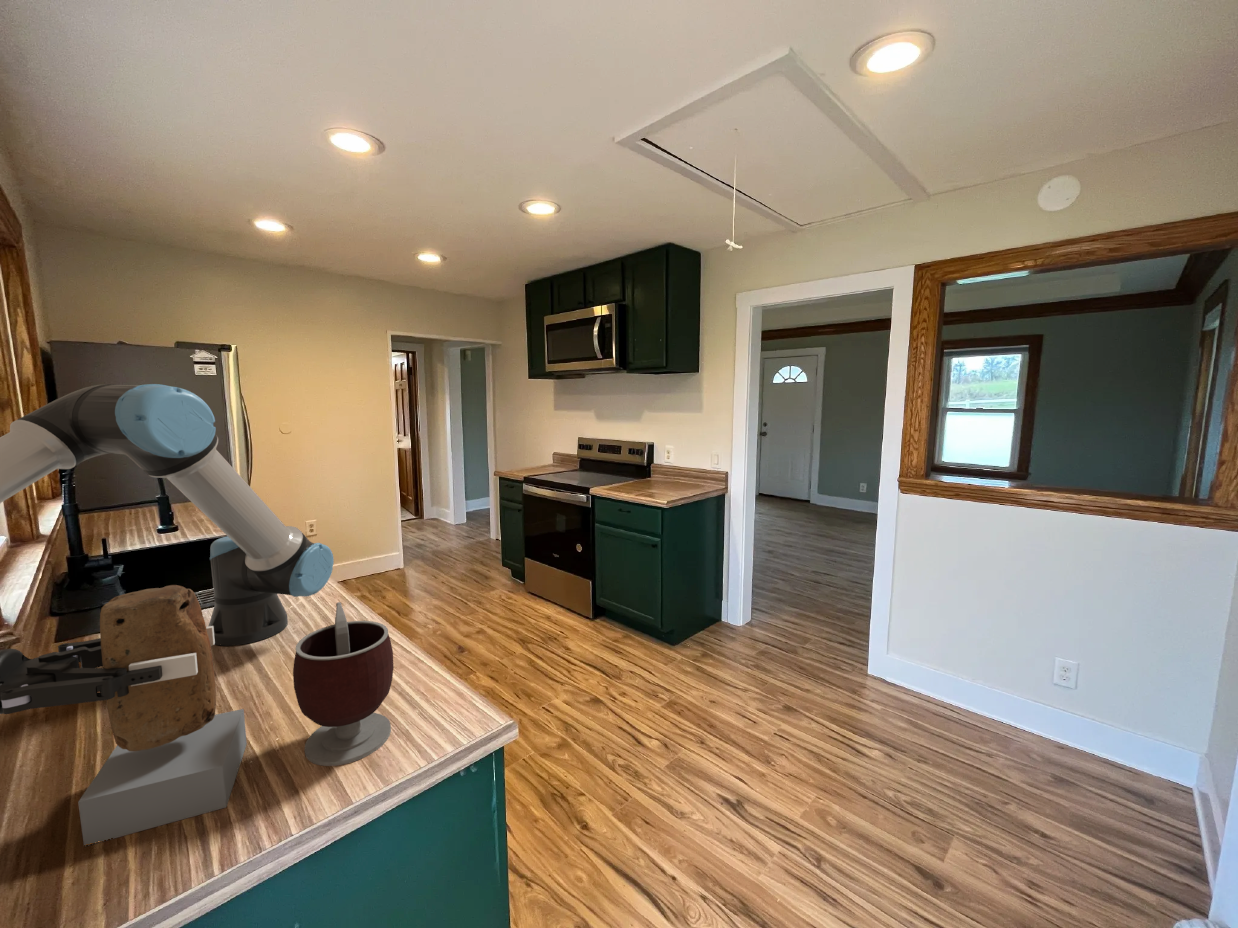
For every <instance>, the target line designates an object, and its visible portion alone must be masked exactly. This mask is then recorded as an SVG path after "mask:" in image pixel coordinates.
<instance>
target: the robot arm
mask: <svg viewBox="0 0 1238 928" xmlns="http://www.w3.org/2000/svg"><path fill="white" fill-rule="evenodd" d="M214 423H216V418H215V416H214V414H213V411H212V409H211V408H210V406H209V404H207V402H205V400H203V399H202V398H201V397H200V396H199V395H196V393H194V392H193V391H192V392H191V391H190V390H188V389H184V388H181V387H177V386H170V385H165V384H158V383H150V384H141V385H135V384H131V385H130V384H97V385H96V384H95V385H90V386H86V387H83V388H81V389H78V390H75V391H72V392H70V393H68V394H65V395H64V396H61V397H59V398H56V399H55V400H53V401H51V402H49V403H47V404H45V405H43V406H40V407H39V408H37V409H35V410H33V411H32V412H29V413H27V414H25V415H24V416H21V417H19V418H18V419H17V418H16V419H15V420H14V421H12V422H11V423H10V425H9V431H8V432H7V433H6V434H4V435H2V436H0V504H1V503H3V502H5V501H6V500H8V499H10V498H11V497H13V496H15V495H16V494H18V493H20V492H21V491H23V490H25V489H27V487H30V486H31V485H33V484H34V483H36V482H38V481H39V480H41V479H42V478H44V477H46V476H48V475H49V474H51V473H53V472H54V471H56V470H70V469H73V468H75V467H76V466H78V465H80V463H82V462H84V461H86V460H89V459H92V458H95V457H99V456H103V455H107V454H116V455H117V454H118V455H124V456H127V457H128V458H129V459H130V460H132V462H134V464H135V465H137V466H138V467H139V468H140V469H141V470H142V471H143V472H144V473H145V474H147V475H148V476H149V477H151V478H157V479H159V478H160V479H161V478H162V479H163V478H164V479H166V480H168V481H169V482H170V483H171V484H172V485H173V486H174V487H175V488H176V489H177V490H179V492H181V493H182V494H183V496H185V497H186V498H187V499H188V500H189V501H190V502H191V503H192V504H193V505H194V506H195V507H196V508H197V509H199V510H200V511H201V513H203V514H204V516H206V517H207V518H208V519H209V520H210V521H211V522H212V523H213V524H214V525H215V526H216V527H217V528H218V529H220V530H221V532H223V533H224V534H225V535H226V536H223V537H220V538H218V539H216V540H214V541H212V543H211V544H210V549H209V550H210V552H209V553H210V555H209V556H210V557H209V561H210V568H211V577H212V587H213V597H214V598H213V599H214V605H213V606H214V607H213V611H212V613H211V616H210V619H209V623H208V625H207V626H206V630H207V634H208V637H209V641H210V645H211V647H212V646H223V647H225V646H227V647H229V646H231V647H232V646H238V645H239V646H240V645H241V646H242V645H245V644H250V643H254V642H259V641H262V640H265V639H268V638H270V637H273V636H274V635H277V634H278V633H280V632H282V631H283V630H285V629H286V627H287V626H288V625H289V624H288V623H289V621H288V620H289V619H288V613H287V611H286V609H285V607H284V605H283V603H282V601H281V599H280V597H279V595H284V596H285V595H286V596H292V597H294V598H298V597H303V598H304V597H311V596H313V595H316V594H317V593H320V591H321V590H322V589H323V588H324V587H325V586H326V585H327V583H328V582H329V579H330V578H331V576H332V573H333V570H334V568H333V567H334V562H335V559H334V555H333V554H334V553H333V552H332V550H331V548H330V547H329V546H328V545H326V544H323V543H320V542H315V543H314V542H312V541H310V539H308V537H306V535H305V534H304V533H303V532H302V530H300V528H298V527H297V526H292V525H287V526H286V525H285V524H284V522H282V521H281V519H280V518H279V517H278V516H277V515H276V514H275V512H273V510H271V508H270V507H269V506H268V505H267V504H266V502H265V501H264V500H263V499H261V497H260V496H259V495H258V494H257V493H256V492H255V490H253V488H252V487H251V486H250V485H249V484H248V483H247V482H246V481H245V479H244V478H243V477H241V475H240V474H239V473H238V472H237V470H235V468H234V467H233V466H232V465H231V464H230V463H229V461H227V459H225V457H224V456H223V455H222V454H221V453H220V452H219V451H218V450H217V447H218V444H219V437H218V435H217V434H216V432H217V431H216V429H217V428H216V426H214ZM57 650H58V651H53V652H49V653H46V654H41V655H39V656H38V657H34V658H29V657H27V656H25V654H24V653H23V652H22V651H20V650H19V649H16V648H5V649H0V715H2V714H3V715H10V714H11V715H12V714H15V713H18V712H23V711H27V710H34V709H42V708H51V707H57V706H58V707H59V706H67V705H76V704H84V703H85V704H86V703H93V702H102V701H106V700H108V699H112V698H113V697H115V692H116V691H117V695H118V697H122V696H125V695H127V694H128V693H129V688H128V686H129V685H131V686H136V685H142V684H147V683H153V682H159V681H164V680H170V679H175V678H181V677H187V676H192V675H196V674H197V673H198V668H197V656H196V653H191V654H185V655H179V656H173V657H167V658H160V659H154V660H148V661H142V662H136V663H131V664H130V665H129V671H127V669H126V668H110V669H105V668H103V662H102V652H101V638H99V637H98V638H94V639H90V640H85V641H75V642H65V643H61V644H59V645H58V646H57ZM80 665H81V666H80Z"/></svg>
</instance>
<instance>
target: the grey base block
mask: <svg viewBox="0 0 1238 928" xmlns="http://www.w3.org/2000/svg"><path fill="white" fill-rule="evenodd" d="M246 732H247V731H246V720H245V710H244V708H240V709H236V710H231V711H226V712H222V713H217V714H216V713H215V716H214V718H213V720H212V721H210V722H209V723H207V724H206V725H205V726H204V727H203V728H201V729H199V730H197V731H195V732H193V733H190V734H188V735H185V736H181V737H179V738H177V739H176V740H174V741H172V742H170V743H167V744H164V745H162V746H158V747H155V748H152V749H148V750H140V751H128V750H127V749H122V748H120V747H119V746H118V745H117V744H116V747H115V748H114V749H113V750H112V752H111V753H110V755H109V756H108V758H107V760H105V762H104V763H103V765H102V767H101V768H100V770H99V771H98V773H97V774H96V776H95V777H94V778H93V779H92V781H91V783H90V784H89V786H88V787H87V788H86V789H85V791H84V793H83V794H82V796H81V797H80V799H78V810H79V817H80V826H81V827H80V828H81V833H82V840H83V846H84V845H86V844H90V843H95V842H98V841H103V842H105V841H104V840H106V841H109V840H108V839H110V840H112V839H111V838H113V839H117V838H121V837H124V836H127V835H128V836H129V835H131V834H135V833H138V832H141V831H146V830H149V829H153V828H156V827H159V826H164V825H167V824H171V823H175V822H178V821H181V820H185V819H189V818H192V817H197V816H199V815H204V814H207V813H211V812H215V811H217V810H221V809H225V808H227V807H228V803H229V800H230V797H231V793H232V791H233V787H234V785H235V782H236V778H237V776H238V772H239V769H240V766H241V764H242V760H243V758H244V757H243V756H244V755H245V754H244V753H245V750H246V748H247V744H248V743H247V733H246ZM95 844H96V843H95Z"/></svg>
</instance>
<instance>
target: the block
mask: <svg viewBox="0 0 1238 928" xmlns="http://www.w3.org/2000/svg"><path fill="white" fill-rule="evenodd" d="M205 621H206V620H205V618H204V615H203V611H202V607H201V605H200V602H199V599H198V597H197V596H196V593H195V592H194V591H193V590H192V589H191V588H186V587H184V586H182V585H177V584H170V585H166V586H164V587H160V588H159V587H155V588H153V587H152V588H146V589H140V590H138V591H132V592H128V593H124V594H120V595H117V596H114V597H113V598H111V599H110V600H109V601H108V602H106V603H105V604H104V605H103V606H102V607H101V609H100V612H99V632H100V633H99V635H100V638H101V652H102V662H103V666H102V668H105V669H110V668H126V669H127V671H129V665H130V664H131V663H136V662H142V661H148V660H154V659H160V658H167V657H173V656H179V655H185V654H191V653H196V656H197V668H198V673H197V674H196V675H192V676H187V677H181V678H175V679H170V680H164V681H159V682H153V683H147V684H142V685H136V686H131V685H129V686H128V688H129V693H128V694H127V695H125V696H122V697H118V695H117V691H116V692H115V697H113V698H112V699H108V700H105V701H106V708H107V713H108V718H109V719H108V720H109V724H110V729H111V732H112V735H113V738H114V741H115V744H116V746H117V745H118V746H119V747H120V748H122V749H127V750H128V751H140V750H148V749H152V748H155V747H158V746H162V745H164V744H167V743H170V742H172V741H174V740H176V739H177V738H179V737H181V736H185V735H188V734H190V733H193V732H195V731H197V730H199V729H201V728H203V727H204V726H205V725H206V724H207V723H209V722H210V721H212V720H213V718H214V716H215V715H216V710H217V709H216V708H217V687H216V678H215V676H216V675H215V669H214V660H213V652H212V646H211V645H210V641H209V637H208V634H207V630H206V627H207V625H206V622H205Z"/></svg>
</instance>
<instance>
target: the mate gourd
mask: <svg viewBox="0 0 1238 928" xmlns="http://www.w3.org/2000/svg"><path fill="white" fill-rule="evenodd" d="M335 605H336V609H335V610H336V611H335V618H334V624H330V625H327V626H324V627H321V628H319V629H316V630H314V631H312V632H310V633H308V634H306V635H305V636H303V637H302V638H301V639H299V640H298V642H297V643H296V645H295V656H294V660H293V667H292V668H293V670H292V676H293V677H292V679H293V689H294V690H293V691H294V693H295V697H296V702H297V705H298V707H299V709H300V712H301V713H302V714H303V716H305V717H306V718H307V719H309V720H310V721H312V722H313V723H315V724H316V725H318V726H320V727H318V728H317V729H316V730H314V732H312V733H311V735H310V736H309V737H308V738H307V740H306V742H305V744H304V754H305V758H306V759H307V760H308V761H309V762H311V763H312V764H315V765H317V766H323V767H334V766H335V767H337V766H344V765H348V764H350V763H354V762H357V761H359V760H362V759H363V758H366V757H368V756H370V755H372V754H373V753H375V752H376V751H378V750H379V749H381V747H382V746H384V744H385V743H386V742H387V741H388V739H389V737H390V735H391V732H392V727H391V724H392V723H391V722H390V719H389V718H388V717H386V716H385V715H383V714H382V713H377V712H376V711H377V710H378V709H379V708H380V706H381V705H382V703H383V702H384V701H385V699H386V698H387V696H388V695H389V694H390V690H391V687H392V682H393V676H394V668H395V667H394V651H393V645H392V642H391V637H390V635H389V629H388V627H387V626H386V625H385V624H383V623H380V622H377V621H372V620H353V621H348V620H347V616H346V613H345V610H344V607H343V606H342V602H341V601H339V602H337V603H336V604H335Z"/></svg>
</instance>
